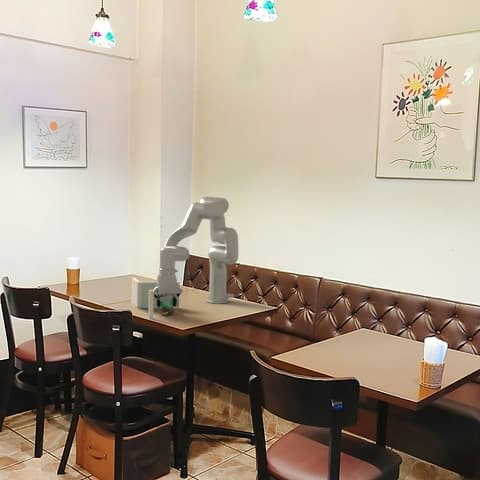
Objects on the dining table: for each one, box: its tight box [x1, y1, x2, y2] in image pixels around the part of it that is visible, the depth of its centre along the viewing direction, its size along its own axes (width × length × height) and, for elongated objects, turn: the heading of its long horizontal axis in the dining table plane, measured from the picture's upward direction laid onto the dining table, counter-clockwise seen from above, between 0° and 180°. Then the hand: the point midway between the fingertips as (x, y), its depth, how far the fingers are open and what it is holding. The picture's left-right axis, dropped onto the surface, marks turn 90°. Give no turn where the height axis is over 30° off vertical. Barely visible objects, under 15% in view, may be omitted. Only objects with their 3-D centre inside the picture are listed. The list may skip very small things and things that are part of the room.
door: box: [140, 281, 180, 309], centre depth 312 cm, size 3×20×14 cm, turn 99°
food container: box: [160, 294, 174, 317], centre depth 300 cm, size 12×6×10 cm, turn 1°
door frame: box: [131, 277, 154, 320], centre depth 305 cm, size 2×36×14 cm, turn 24°
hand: (166, 306), depth 300 cm, fingers open, 7 cm apart
